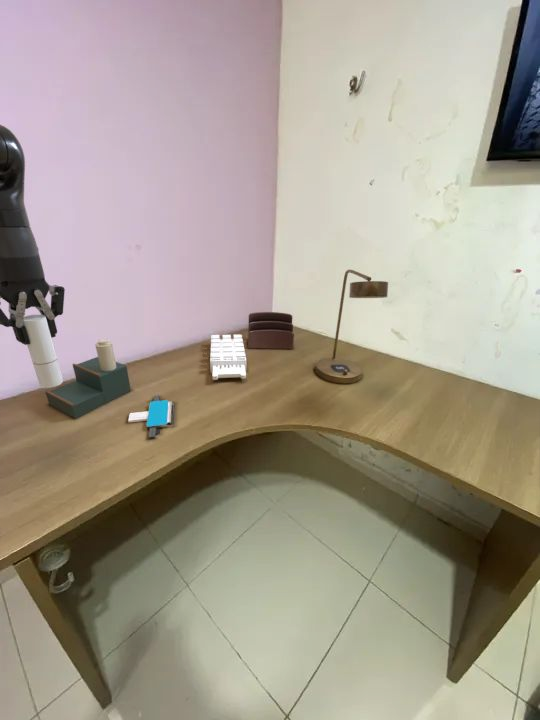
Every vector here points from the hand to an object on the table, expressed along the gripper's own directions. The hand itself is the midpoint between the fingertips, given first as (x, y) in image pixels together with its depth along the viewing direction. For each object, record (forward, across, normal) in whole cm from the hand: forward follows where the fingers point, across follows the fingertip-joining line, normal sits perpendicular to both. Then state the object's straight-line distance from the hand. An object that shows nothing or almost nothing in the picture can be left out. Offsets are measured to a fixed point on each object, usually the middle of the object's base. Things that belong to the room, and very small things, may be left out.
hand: (38, 339), depth 64 cm
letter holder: (+28, -85, +8) cm, 90 cm away
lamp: (+28, -72, +46) cm, 90 cm away
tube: (+10, 0, 0) cm, 10 cm away
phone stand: (+28, -19, +7) cm, 35 cm away
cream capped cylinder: (+19, -21, -12) cm, 31 cm away
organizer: (+28, -60, +3) cm, 66 cm away
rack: (+28, -16, -16) cm, 36 cm away
